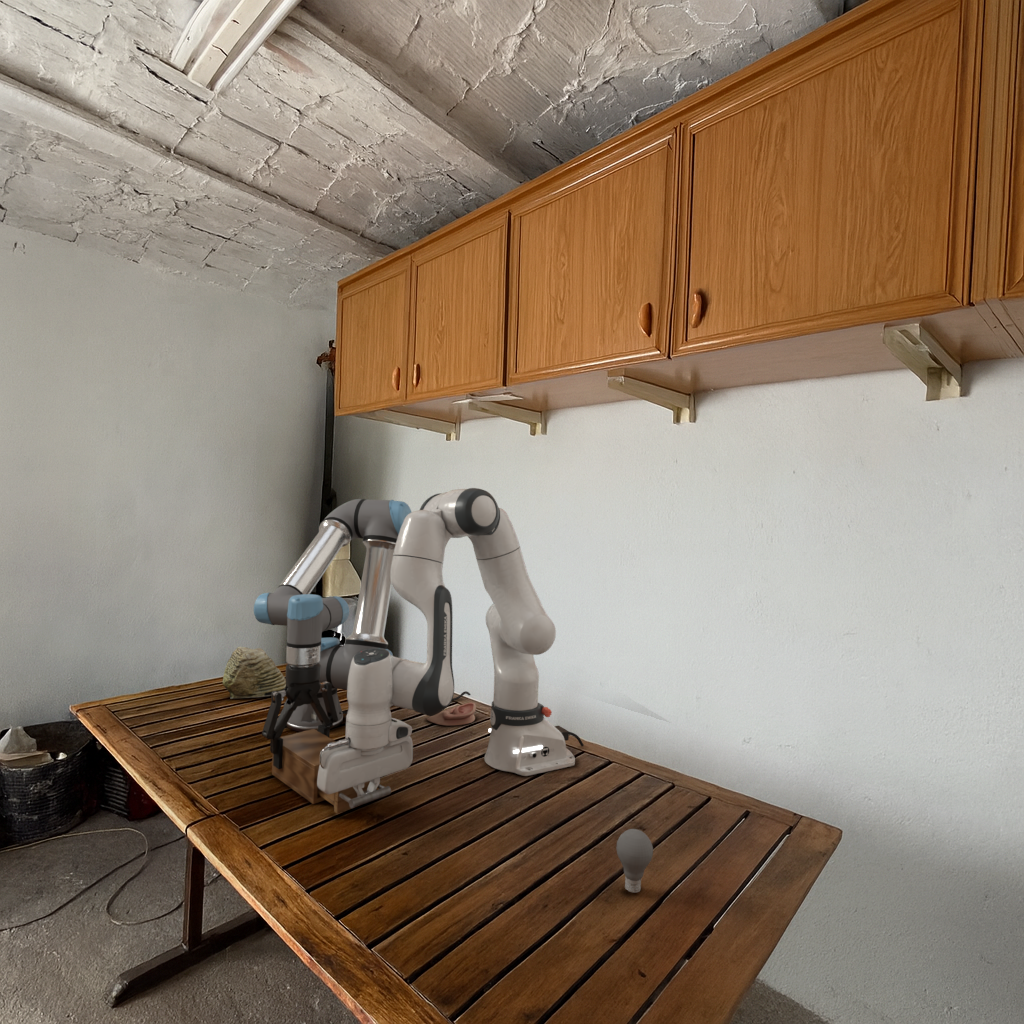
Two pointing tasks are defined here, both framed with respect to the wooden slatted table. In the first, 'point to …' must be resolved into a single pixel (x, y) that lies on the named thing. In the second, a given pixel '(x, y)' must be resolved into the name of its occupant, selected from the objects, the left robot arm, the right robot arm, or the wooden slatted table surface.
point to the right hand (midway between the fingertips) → (365, 801)
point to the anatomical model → (455, 715)
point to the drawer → (353, 797)
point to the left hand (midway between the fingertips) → (300, 760)
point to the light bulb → (634, 857)
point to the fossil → (252, 674)
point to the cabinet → (302, 762)
